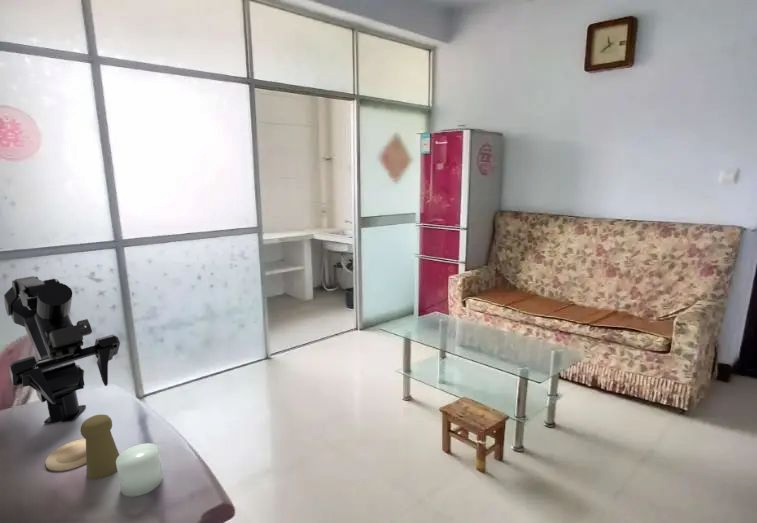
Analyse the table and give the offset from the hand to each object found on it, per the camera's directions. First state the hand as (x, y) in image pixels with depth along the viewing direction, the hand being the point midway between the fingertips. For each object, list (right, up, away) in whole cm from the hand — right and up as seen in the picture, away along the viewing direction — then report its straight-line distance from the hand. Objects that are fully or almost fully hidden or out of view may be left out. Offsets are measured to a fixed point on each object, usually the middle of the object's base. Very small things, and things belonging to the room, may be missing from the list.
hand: (81, 393), depth 89 cm
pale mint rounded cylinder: (+16, -15, -7) cm, 23 cm away
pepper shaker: (+6, -14, -2) cm, 16 cm away
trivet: (-3, -13, +2) cm, 14 cm away
